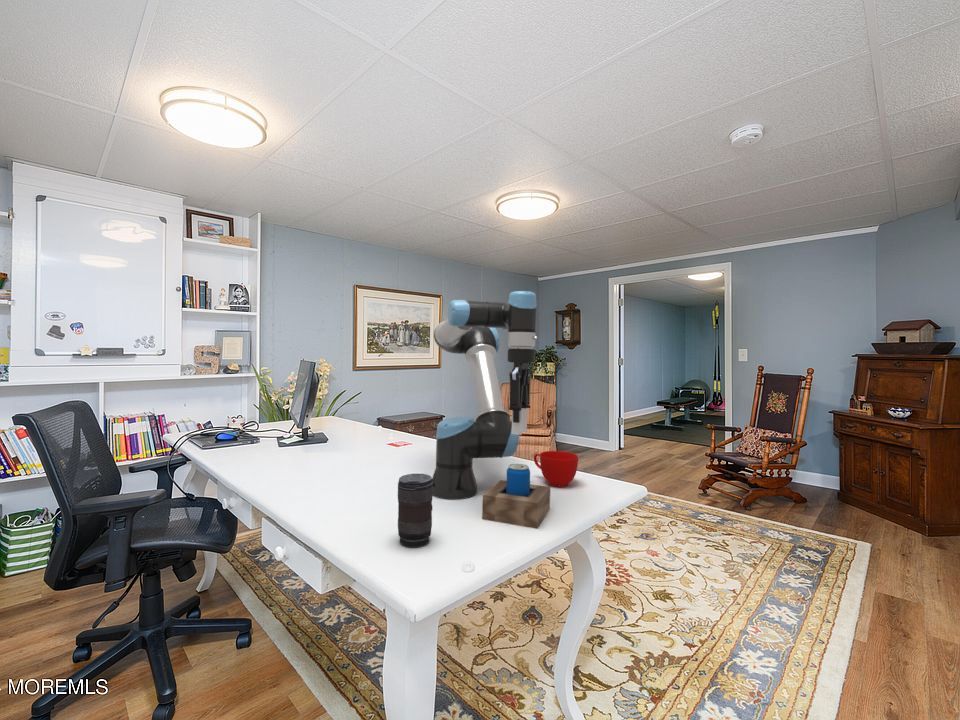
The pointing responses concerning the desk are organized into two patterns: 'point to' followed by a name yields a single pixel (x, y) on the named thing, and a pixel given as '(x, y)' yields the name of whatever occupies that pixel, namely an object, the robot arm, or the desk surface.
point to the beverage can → (518, 480)
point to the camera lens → (415, 509)
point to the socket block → (516, 505)
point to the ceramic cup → (557, 467)
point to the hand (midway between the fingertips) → (519, 432)
